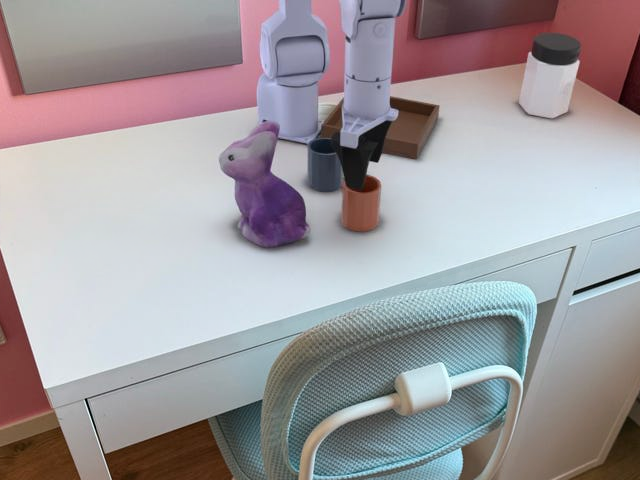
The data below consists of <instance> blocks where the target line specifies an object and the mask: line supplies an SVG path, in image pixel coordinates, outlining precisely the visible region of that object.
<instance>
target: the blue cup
mask: <svg viewBox="0 0 640 480" xmlns="http://www.w3.org/2000/svg"><path fill="white" fill-rule="evenodd" d="M306 155H307V156H306V157H307V159H306V160H307V163H306V165H307V167H306V168H307V185H308V186H309V187H310V188H311V189H313V190H314V191H317V192H323V193H330V192H331V193H332V192H335V191H338V190H340V188H342V182H343V180H344V175H343V170H342V166H341V163H340V160H339V158H338V156H337V154H336V152H335V150H334V149H333V147H332V145H331V138H321V137H316V138H315V139H314V140H311V141H310V142H309V143H308V144H306Z"/></svg>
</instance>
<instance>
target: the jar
mask: <svg viewBox="0 0 640 480" xmlns="http://www.w3.org/2000/svg"><path fill="white" fill-rule="evenodd" d="M581 48H582V43H581V42H580V40H578V39H577V38H575V37H573V36H572V35H568V34H564V33H558V32H543V33H539V34H536V35H535V36H534V38H533V42H532V47H531V51H529V52H528V53H527V59H526V64H525V68H524V75H523V79H522V84H521V89H520V95H519V99H518V104H519V105H520V106H521V108H522V109H523V110H524V111H525V113H526V114H527V115H530V116H535V117H541V118H546V119H551V120H552V119H555V118H557V117H559V116H562V115H564V114H566V113H567V112H568V111H569V106H570V103H571V98H572V94H573V91H574V87H575V83H576V78H577V74H578V70H579V67H580V62H581V61H580V60H579V56H580V53H581Z"/></svg>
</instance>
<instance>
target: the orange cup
mask: <svg viewBox="0 0 640 480" xmlns="http://www.w3.org/2000/svg"><path fill="white" fill-rule="evenodd" d="M381 197H382V182H381V180H379V179H378V178H377V177H376V176H375V175H374V176H373V175H370V174H366V179H365V182H364V185H363V188H362V189H361V190H358V189H353V188H348V187H347V186H346V183H345V179H344V178H343V182H342V186H341V209H340V216H341V217H340V218H341V224H342V225H343V227H345V228H346V229H348V230H350V231H354V232H360V233H361V232H362V233H364V232H370V231H372V230H374V229H375V228H377V227H378V225H379V221H380V211H381Z"/></svg>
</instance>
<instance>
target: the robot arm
mask: <svg viewBox="0 0 640 480" xmlns="http://www.w3.org/2000/svg"><path fill="white" fill-rule="evenodd" d="M338 2H339V7H340V15H341V16H340V19H341V20H340V25H341V30H342V32H343V33H344V34H345V37H344V40H345V41H344V75H343V77H344V78H343V97H344V103H343V105H342V122H343V128H342V129H341V133H340V132H335V133H334V134H333V136H332V137H331V145H332V147H333V149H334V150H335V152H336V154H337V156H338V158H339V160H340V163H341V166H342V170H343V180H344V179H345V183H346V186H347V187H348V188H353V189H358V190H361V189H362V188H363V185H364V182H365V179H366V174H367V173H368V167H369V164H370V162H371V163H377V164H378V163H379V162H380V160H381V157H382V154H383V152H382V151H383V147H384V143H385V139H386V136H387V133H388V130H389V128H390V125H391V123H392V121H394V120H396V118H397V117H398V109H397V108H395V107H393V106H390V96H391V89H392V87H391V86H392V75H393V74H392V73H393V61H394V60H393V58H394V46H395V45H394V44H395V31H396V18H399V17H401V16H402V15H403V13H404V12H405V9H406V5H407V0H338ZM312 3H313V1H312V0H278V10H277V11H275V12H274V13H273V14H271V15H270V16H269V17H268V18H267V19H266V20H264V21H263V22H262V24H261V28H260V42H259V58H260V63H261V64H260V65H261V67H262V70H263V72H262V73H261V74H260V76H259V78H258V81H257V86H256V106H257V107H256V108H257V126H259V125H260V124H262V123H263V122H266V121H273V122H277V123H278V124H279V125H280V130H279V135H278V139H282V140H287V141H292V142H298V143H301V144H306V145H307V144H308V143H309V142H310V141H311V140H314V139H316V138H318V136H319V135H320V134H321V125H322V124H323V123H324V121H325V120H322V119H319V81H322V80H323V74H325V73H327V71H328V69H329V67H330V64H331V49H330V44H329V37H328V33H329V32H328V29H327V27H326V24H325V22H324V21H323V20H322V19H321V18H320V17H318V16H317V15H316V14H314V13H313V11H312V10H313V9H312V8H313V7H312ZM367 175H368V174H367Z"/></svg>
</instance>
